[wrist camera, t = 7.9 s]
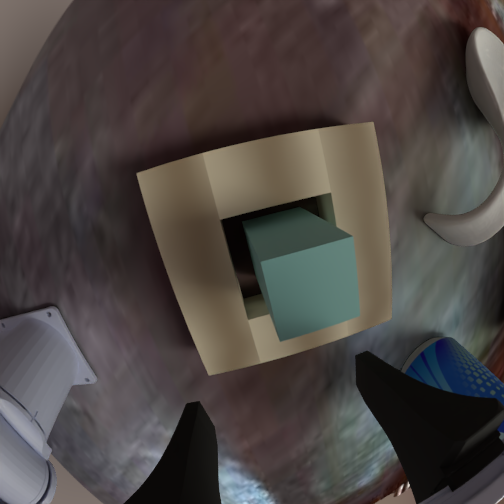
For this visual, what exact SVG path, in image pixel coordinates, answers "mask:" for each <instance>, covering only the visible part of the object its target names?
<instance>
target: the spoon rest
mask: <svg viewBox="0 0 504 504" xmlns="http://www.w3.org/2000/svg"><path fill="white" fill-rule="evenodd" d="M466 79H467V84H468V88H469V91H470V94H471V96H472V98H473V100H474V102H475V104H476V105H477V107H478V108H479V109H480V111H481V112H482V113H483V115H484V116H485V118H486V119H487V121H488V122H489V123H490V125H491V126H492V128H493V129H494V130H495V132H496V134H497V135H498V137H499V139H500V141H501V144H502V148H503V155H504V44H503V43H502V42H501V41H500V39H499V38H498V37H497V36H495V35H494V34H493V33H492V32H491V31H489V30H487V29H485V28H483V27H478V28H476V29H474V30H473V32H472V33H471V35H470V37H469V39H468V42H467V46H466ZM423 220H424V222H425V223H426V224H427V225H428V226H429V227H430V228H432V229H433V230H434V231H435V232H436V233H437V234H438V235H440V236H441V237H442V238H443V239H444V240H446V241H447V242H449V243H450V244H453V245H457V246H473V245H477V244H479V243H482V242H484V241H486V240H487V239H489V238H491V237H492V236H493V235H495V234H496V233H497V232H498V231H499V230H500V229H501V228H502V227H503V226H504V162H503V169H502V173H501V176H500V178H499V181H498V182H497V184H496V186H495V188H494V190H493V191H492V193H491V194H490V195H489V197H488V198H487V199H486V200H485V201H484V202H483V203H482V204H481V205H480V206H479V207H477V208H476V209H474V210H472V211H470V212H467V213H465V214H460V215H443V214H436V213H428V214H426V215H425V216H424V218H423Z"/></svg>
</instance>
